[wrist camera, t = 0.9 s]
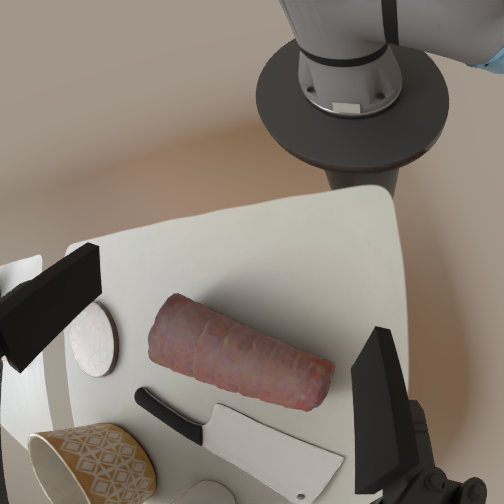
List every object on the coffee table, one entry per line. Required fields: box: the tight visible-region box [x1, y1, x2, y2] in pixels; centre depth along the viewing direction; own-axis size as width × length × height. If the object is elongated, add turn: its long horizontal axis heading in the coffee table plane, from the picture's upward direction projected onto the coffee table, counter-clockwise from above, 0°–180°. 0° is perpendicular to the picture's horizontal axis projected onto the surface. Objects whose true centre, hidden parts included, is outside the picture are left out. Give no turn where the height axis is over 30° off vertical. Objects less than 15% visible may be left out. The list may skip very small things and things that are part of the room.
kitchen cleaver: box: [135, 387, 344, 504], centre depth 34 cm, size 31×2×10 cm
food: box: [148, 293, 336, 412], centre depth 31 cm, size 21×10×9 cm, turn 76°
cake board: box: [70, 302, 119, 377], centre depth 46 cm, size 14×14×1 cm
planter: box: [28, 423, 156, 504], centre depth 33 cm, size 19×19×16 cm
